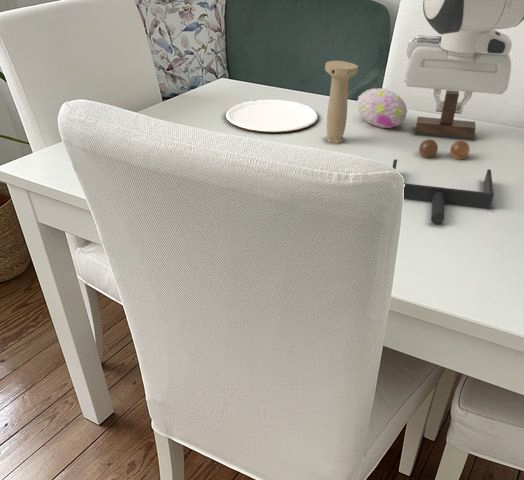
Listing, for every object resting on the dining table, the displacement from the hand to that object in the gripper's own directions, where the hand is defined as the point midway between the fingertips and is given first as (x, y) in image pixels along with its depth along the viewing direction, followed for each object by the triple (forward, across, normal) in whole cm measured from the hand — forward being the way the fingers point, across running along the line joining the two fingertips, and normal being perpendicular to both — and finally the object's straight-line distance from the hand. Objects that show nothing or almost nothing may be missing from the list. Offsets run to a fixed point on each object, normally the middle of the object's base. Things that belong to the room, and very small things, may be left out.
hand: (448, 111), depth 119 cm
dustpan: (+5, 0, -32) cm, 33 cm away
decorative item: (+5, -14, +3) cm, 15 cm away
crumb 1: (+3, -3, -13) cm, 14 cm away
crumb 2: (+3, +3, -12) cm, 13 cm away
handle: (+5, -22, -10) cm, 25 cm away
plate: (+5, -38, 0) cm, 38 cm away
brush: (+5, 0, 0) cm, 5 cm away
